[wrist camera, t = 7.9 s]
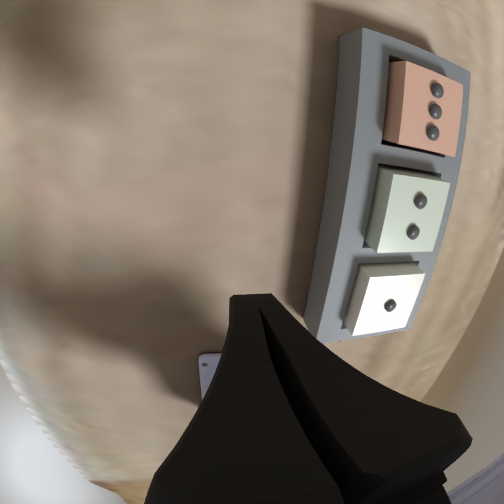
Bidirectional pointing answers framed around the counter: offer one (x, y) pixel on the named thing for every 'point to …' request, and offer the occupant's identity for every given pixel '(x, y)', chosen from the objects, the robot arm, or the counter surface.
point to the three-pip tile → (422, 108)
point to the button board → (369, 176)
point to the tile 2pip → (405, 210)
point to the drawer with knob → (382, 296)
